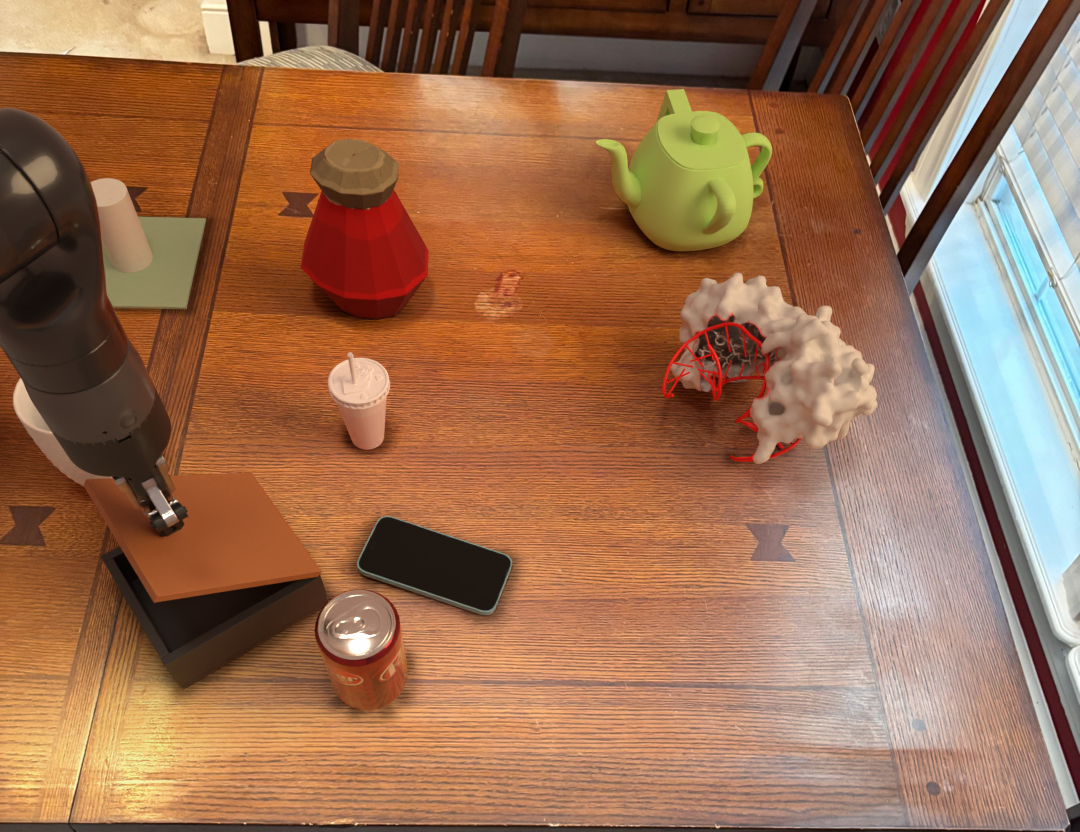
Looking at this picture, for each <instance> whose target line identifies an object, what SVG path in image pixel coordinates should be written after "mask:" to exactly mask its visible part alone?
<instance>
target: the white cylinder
mask: <svg viewBox="0 0 1080 832" xmlns="http://www.w3.org/2000/svg"><path fill="white" fill-rule="evenodd" d="M90 182H91V185H92V188H93V191H94V195H95V198H96V202H97V207H98V214H99V221H100V230H101V240H102V244H103V246H104V248H105V250H106V253H107V255H108V257H109V259H110V261H111V264H112V266H113V267H114V268H115V269H116V270H118V271H120V272H123V273H135V272H139V271H141V270H143V269H145V268H147V267H148V266H149V265H150V264H151V262H152V260H153V254H152V251H151V249H150V246H149V244H148V241H147V239H146V236H145V234H144V231H143V229H142V226H141V223H140V221H139V218H138V216H139V215H138V213H137V211H136V208H135V206H134V202H133V201H132V198H131V196H130V193H129V191H128V188H127V186H126V184H125V183H124V182H123V181H122V180H119V179H117V178H114V177H113V178H111V177H104V178H98V179H95V180H93V181H90Z"/></svg>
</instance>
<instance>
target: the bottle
mask: <svg viewBox="0 0 1080 832" xmlns="http://www.w3.org/2000/svg"><path fill="white" fill-rule="evenodd" d="M399 170H400V163H399V162H398V161H397V160H396V159H395V158H394V157H393V156H391V154H389V153H388V152H387V151H385V150H384V149H382V148H380V147H379V146H377V145H375V144H373V143H371V142H368V141H366V140H364V139H357V138H356V139H355V138H345V139H338V140H337V139H336V140H334V141H333V142H332V143H330V144H328V145H327V146H326V147H325V148H323V149H322V150H320V151H319V152H318V153H316V154H315V155H314V156H313V157H312V158H311V161H310V171H309V175H310V176H311V177H312V178H313V180H314V182H315V183H316V185H317V186H318V188H319V189H320V194H319V197H318V200H317V203H316V205H315V209H314V212H313V215H312V218H311V222H310V224H309V226H308V230H307V232H306V236H305V239H304V242H303V246H302V247H303V248H302V254H301V262H300V269H301V270H302V272H304V274H306V276H308V278H310V280H312V282H314V284H315V285H316V286H317V287H318V288H319V289H320V290H321V291H322V292H323V293H324V294H325V295H326V296H327V297H328V298H329V299H330V300H332V302H333V303H334V304H335V305H336V306H337V307H339V308H340V310H341V311H342V312H344V313H346V314H348V315H351V316H353V317H355V318H357V319H362V320H375V321H378V320H383V319H384V320H385V319H389V318H393V317H395V316H397V314H398V313H400V311H402V310H403V309H404V308H405V307H406V306H407V305H408V303H409V302H410V300H411V299H412V298H413V296H414V295H415V293H417V291H418V290H419V288H420V287H421V285H422V284H423V282H424V281H425V280H426V279H427V277H428V275H429V254H430V253H429V252H430V251H429V248H428V247H427V244H426V243H425V241H424V240H423V237H422V236H421V235H420V232H419V230H418V229H417V227H416V225H415V224H414V222H413V221H412V218H411V217H410V215H409V214H408V212H407V210H406V208H405V206H404V204H403V203H402V201H401V199H400V198H399V196H398V194H397V192H396V190H395V187H396V185H397V183H398V180H399Z"/></svg>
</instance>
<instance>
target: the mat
mask: <svg viewBox="0 0 1080 832" xmlns="http://www.w3.org/2000/svg"><path fill="white" fill-rule="evenodd" d="M137 216H138V218H139V221H140V223H141V226H142V229H143V231H144V234H145V236H146V239H147V241H148V244H149V246H150V249H151V251H152V254H153V260H152V262H151V264H150V265H149V266H148V267H147V268H145V269H143V270H141V271H139V272H135V273H123V272H120V271H118V270H116V269H115V268H114V267H113V266H112V264H111V261H110V259H109V257H108V255H107V253H106V250H105V248H104V246H103V244H102V251H103V261H104V269H105V277H106V291H107V296H108V298H109V300H110V302H111V304H112V306H113V308H114V309H132V310H133V309H136V310H139V309H141V310H181V311H183V310H184V311H185V310H187V309H188V304H189V300H190V296H191V291H192V287H193V282H194V278H195V273H196V269H197V264H198V260H199V255H200V250H201V246H202V242H203V237H204V233H205V230H206V229H205V228H206V224H207V218H206V217H175V216H174V217H171V216H139V215H137Z"/></svg>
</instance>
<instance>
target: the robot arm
mask: <svg viewBox="0 0 1080 832" xmlns="http://www.w3.org/2000/svg"><path fill="white" fill-rule="evenodd" d="M91 182H92V181H91V179H90V177H89V175H88V173H87V170H86V168H85V167H84V164H83V162H82V161H81V159H80V158H79V156H78V154H77V152H76V151H75V150H74V148H73V146H72V145H71V144H70V143H69V142H68V141H67V140H66V139H65V138H64V136H62V134H61V133H60V132H59V131H58V130H57V129H56V128H55V127H53V126H52V125H51V124H49V123H48V122H46V121H45V120H44V119H43V118H41V117H38V116H37V115H35V114H33V113H31V112H28V111H26V110H23V109H19V108H15V107H0V348H1V349H2V351H3V352H4V354H5V356H6V357H7V359H8V360H9V362H10V363H11V365H12V366H13V368H14V370H15V371H16V372H17V374H18V375H19V377H20V378H21V379H22V381H23V383H24V386H25V388H26V391H27V393H28V395H29V397H30V399H31V401H32V403H33V404H34V406H35V407H36V409H37V410H38V412H39V413H40V415H41V416H42V418H43V419H44V421H45V423H46V424H47V426H48V427H49V429H50V430H51V432H52V433H53V435H54V436H55V438H56V439H57V441H58V442H59V444H60V445H61V447H62V448H63V450H64V451H65V453H66V454H67V456H68V457H69V459H70V460H71V461H72V462H73V463H74V464H75V465H76V466H77V467H78V468H80V469H81V470H83V471H85V472H88V473H90V474H93V475H97V476H105V477H112V478H113V480H114V481H115V483H116V485H117V486H118V488H119V489H120V491H121V492H122V493H125V494H126V495H127V496H128V498H129V499H130V501H131V503H132V504H133V506H134V507H135V509H143V510H144V511H142V512H143V514H144V515H145V517H146V516H147V517H148V518H149V519H150V521H151V522H149V523H150V525H151V526H152V528H154V529H156V530H157V532H158V533H159V535H160V536H161V537H165V536H169V535H171V534H173V533H175V532H177V531H179V530H181V529H182V527H183V526H184V522H183V519H185V518H187V517H188V514H187V513H186V512H188V511H187V509H186V508H185V506H182V505H181V503H179V501H178V500H177V498H175V497H174V496H172V493H173V492H174V491H175V486H174V484H173V482H172V480H171V478H170V476H171V475H170V474H169V472H170V470H171V469H170V467H169V465H168V462H167V460H166V459H165V457H164V455H163V452H164V451H165V449H166V448H167V446H168V444H169V442H170V439H171V435H172V424H171V423H172V422H171V419H170V416H169V414H168V412H167V409H166V408H165V405H164V403H163V401H162V399H161V397H160V394H159V392H158V390H157V388H156V386H155V384H154V382H153V379H152V377H151V375H150V373H149V370H148V369H147V367H146V365H145V363H144V361H143V358H142V357H141V355H140V353H139V351H138V350H137V348H136V347H135V346H134V345H133V343H132V342H131V340H130V338H129V336H128V335H127V333H126V330H125V329H124V327H123V324H122V322H121V321H120V318H119V316H118V314H117V312H116V310H115V308H113V306H112V304H111V302H110V300H109V298H108V296H107V291H106V277H105V269H104V261H103V251H102V240H101V230H100V221H99V214H98V207H97V202H96V198H95V195H94V191H93V188H92V185H91Z"/></svg>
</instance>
